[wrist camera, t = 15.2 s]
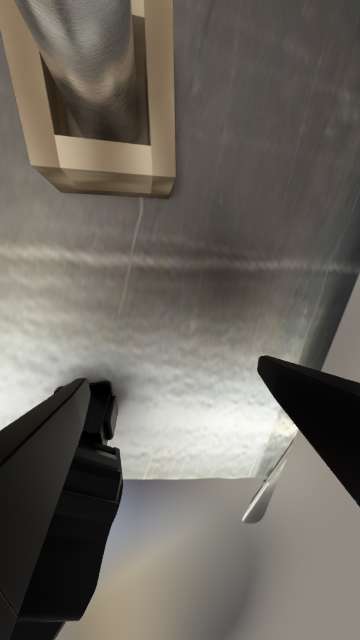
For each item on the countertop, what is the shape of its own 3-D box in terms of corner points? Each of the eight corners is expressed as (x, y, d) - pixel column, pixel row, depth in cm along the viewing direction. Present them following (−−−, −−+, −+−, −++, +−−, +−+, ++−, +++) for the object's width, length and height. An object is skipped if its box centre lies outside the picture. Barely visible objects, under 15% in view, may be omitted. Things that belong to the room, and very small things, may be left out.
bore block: (60, 192, 16) (30, 165, 12) (31, 35, 13) (-24, -77, 9) (168, 198, 18) (175, 177, 13) (164, 63, 15) (172, -19, 11)
